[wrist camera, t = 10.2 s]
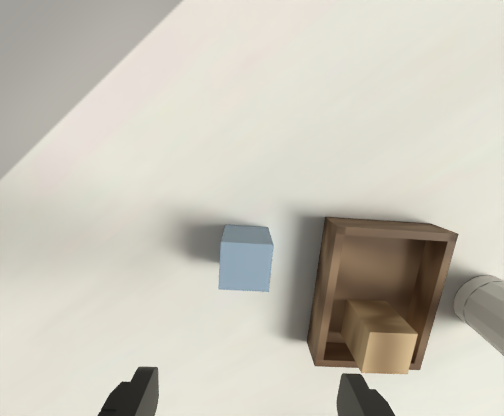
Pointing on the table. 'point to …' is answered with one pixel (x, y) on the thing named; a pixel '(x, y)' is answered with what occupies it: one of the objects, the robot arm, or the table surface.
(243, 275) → the slate block
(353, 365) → the tray
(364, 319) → the oak block
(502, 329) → the cup
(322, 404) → the table surface
